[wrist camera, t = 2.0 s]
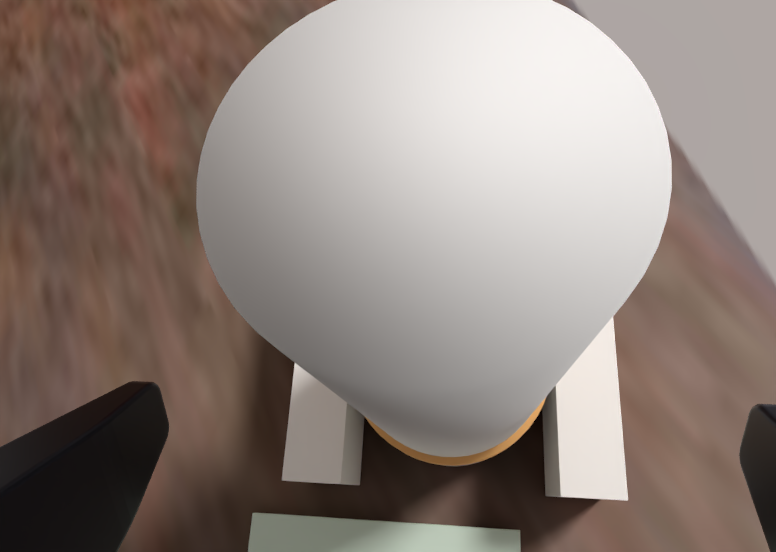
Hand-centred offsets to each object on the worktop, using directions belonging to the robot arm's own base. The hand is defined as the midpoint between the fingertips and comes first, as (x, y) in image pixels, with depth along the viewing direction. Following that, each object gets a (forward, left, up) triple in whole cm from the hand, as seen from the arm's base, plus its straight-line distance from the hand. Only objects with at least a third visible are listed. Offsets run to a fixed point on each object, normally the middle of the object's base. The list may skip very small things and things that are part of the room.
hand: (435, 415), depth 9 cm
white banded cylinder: (+2, -1, -10) cm, 10 cm away
